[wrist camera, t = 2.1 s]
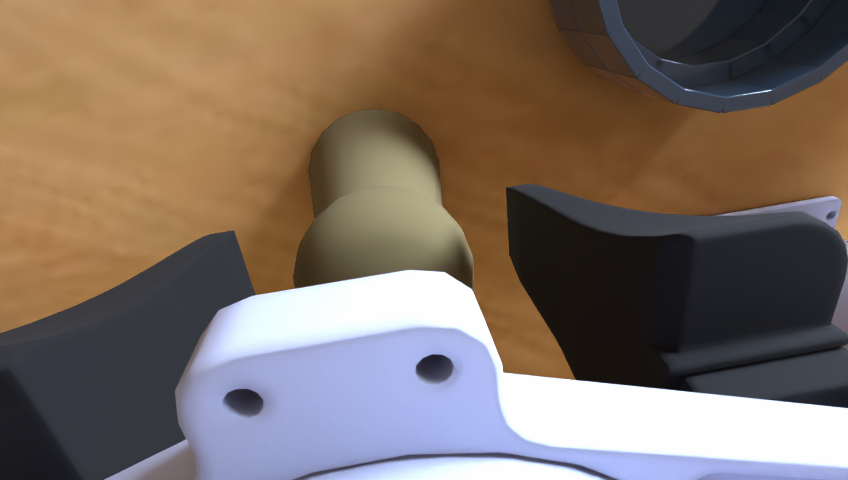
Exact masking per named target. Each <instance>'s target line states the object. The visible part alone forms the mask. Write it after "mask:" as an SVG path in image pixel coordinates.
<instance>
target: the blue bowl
mask: <svg viewBox="0 0 848 480" xmlns="http://www.w3.org/2000/svg"><path fill="white" fill-rule="evenodd" d="M550 3H551V6H552V10H553V13H554V16H555V19H556V23H557V26H558V27H559V30H560V32H561V33H562V35H563V36H564V37H565V39H566V40H567V42H568V43H569V44H570V46H571V47H572V49H573V50H574V51H575V53H576V54H577V55H578V57H579V58H580V60H581V61H582V62H583V63H584V64H585V65H586V66H587V67H589V68H590V69H592V70H594V71H595V72H597V73H598V74H600V75H601V76H603V77H604V78H606V79H607V80H609V81H610V82H612V83H614V84H615V85H617V86H620V87H623V88H626V89H629V90H632V91H635V92H638V93H641V94H645V95H647V96H651V97H654V98H657V99H660V100H663V101H666V102H669V103H672V104H675V105H680V106H685V107H690V108H695V109H700V110H705V111H710V112H716V113H727V112H733V111H739V110H746V109H752V108H758V107H765V106H770V105H773V104H775V103H777V102H780V101H782V100H784V99H786V98H788V97H790V96H792V95H794V94H796V93H799V92H801V91H803V90H805V89H807V88H809V87H811V86H813V85H816V84H818V83H820V82H821V81H823V80H824V79H825V78H827V77H828V76H829V75H830V74H832V73H833V72H834V71H835V70H837V69H838V68H839V67H840V66H842V65H843V64H844V63H845V62H847V61H848V0H550Z"/></svg>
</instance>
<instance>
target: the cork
mask: <svg viewBox="0 0 848 480" xmlns="http://www.w3.org/2000/svg"><path fill="white" fill-rule="evenodd" d="M308 172H309V180H310V187H311V195H312V203H313V211H314V218H315V219H314V220H313V221H312V223H311V225H310V226H309V228H308V230H307V231H306V233H305V235H304V237H303V238H302V240H301V242H300V244H299V248H298V251H297V257H296V262H295V268H294V274H293V281H294V286H295V289H297V288H303V287H309V286H315V285H321V284H327V283H333V282H339V281H345V280H351V279H357V278H363V277H369V276H375V275H381V274H387V273H393V272H399V271H405V270H419V271H434V272H445V273H447V274H448V275H450V276H452V277H453V278H455V279H456V280H458V281H459V282H461V283H463V284H464V285H466V286H467V287H469V288H470V289H472V291H473V286H474V265H473V256H472V253H471V251H470V248H469V245H468V243H467V240H466V238H465V235H464V233H463V231H462V229H461V227H460V226H459V225H458V224H457V222H456V221H455V220H454V219H453V218H452V217H451V216H450V214H449V213H448V212H447V211H446V210H445V209H444V208H443V207H442V199H441V185H440V171H439V159H438V157H437V154H436V151H435V149H434V146H433V144H432V141H431V140H430V139H429V137H428V136H427V135H426V134H425V133H424V131H423V130H422V129H421V128H420V127H419V125H417V124H416V123H414V122H412V121H411V120H409V119H408V118H406V117H404V116H403V115H401V114H398V113H394V112H390V111H386V110H382V109H372V110H359V111H356V112H353V113H351V114H348V115H346V116H344V117H341V118H339V119H337V120H336V121H335V122H334V123H333V124H332V125H330V126H329V127H328V128H327V129H326V130H325V131H324V132H323V133H322V134H321V136H320V137H319V139H318V141H317V143H316V145H315V146H314V148H313V150H312V153H311V159H310V165H309V170H308Z"/></svg>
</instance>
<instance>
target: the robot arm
mask: <svg viewBox="0 0 848 480" xmlns="http://www.w3.org/2000/svg"><path fill="white" fill-rule="evenodd" d="M506 196H507V217H508V239H509V255H510V258H511V260H512V263H513V265H514V268H515V270H516V273H517V275H518V277H519V280H520V282H521V283H522V285H523V287H524V289H525V290H526V292H527V293H528V295H529V297H530V298H531V300H532V302H533V303H534V305H535V306H536V308H537V310H538V311H539V313H540V314H541V316H542V318H543V319H544V321H545V322H546V324H547V326H548V327H549V329H550V330H551V332H552V334H553V335H554V337H555V338H556V340H557V342H558V344H559V346H560V348H561V349H562V351H563V353H564V356H565V358H566V360H567V362H568V364H569V366H570V369H571V371H572V373H573V375H574V377H575V379H576V380H570V379H560V378H550V377H540V376H531V375H521V374H511V373H504V372H503V368H502V362H501V360H500V357H499V355H498V352H497V350H496V347H495V345H494V342H493V340H492V337H491V335H490V332H489V330H488V327H487V324H486V322H485V319H484V317H483V314H482V312H481V310H480V307H479V305H478V303H477V300H476V298H475V296H474V293H473V291H472V289H470V288H469V287H467V286H466V285H464V284H463V283H461V282H459V281H458V280H456V279H455V278H453V277H452V276H450V275H448V274H447V273H445V272H434V271H419V270H405V271H399V272H393V273H387V274H381V275H375V276H369V277H363V278H357V279H351V280H345V281H339V282H333V283H327V284H321V285H315V286H309V287H303V288H297V289H291V290H285V291H279V292H273V293H267V294H261V295H255V292H254V289H253V286H252V283H251V280H250V277H249V274H248V271H247V268H246V265H245V262H244V259H243V256H242V253H241V250H240V247H239V244H238V241H237V238H236V235H235V232H234V231H227V232H221V233H215V234H210V235H207V236H204V237H202V238H200V239H198V240H196V241H194V242H192V243H190V244H189V245H187V246H185V247H183V248H182V249H180V250H178V251H177V252H175V253H174V254H172V255H170V256H169V257H167V258H165V259H164V260H162V261H160V262H159V263H157V264H155V265H154V266H152V267H150V268H148V269H147V270H145V271H143V272H141V273H140V274H138V275H136V276H134V277H133V278H131V279H129V280H127V281H125V282H124V283H122V284H120V285H118V286H116V287H114V288H112V289H110V290H108V291H106V292H104V293H102V294H100V295H98V296H96V297H94V298H92V299H89V300H87V301H85V302H83V303H81V304H78V305H76V306H74V307H71V308H69V309H66V310H64V311H61V312H58V313H56V314H53V315H51V316H48V317H45V318H43V319H40V320H38V321H35V322H33V323H30V324H27V325H24V326H21V327H18V328H15V329H12V330H9V331H6V332H3V333H0V480H848V241H846V240H844V239H842V237H841V235H840V233H839V232H838V231H837V230H835V226H836V222H837V219H838V215H839V212H840V208H841V203H842V202H841V200H840V199H839V198H837V197H834V196H827V197H821V198H815V199H809V200H803V201H797V202H791V203H785V204H780V205H774V206H768V207H762V208H756V209H750V210H744V211H738V212H732V213H726V214H721V215H715V216H693V215H677V214H662V213H653V212H645V211H639V210H632V209H626V208H621V207H616V206H611V205H607V204H603V203H599V202H595V201H591V200H587V199H584V198H580V197H577V196H574V195H570V194H567V193H564V192H561V191H557V190H554V189H551V188H547V187H544V186H540V185H536V184H524V185H517V186H511V187H506ZM827 214H828V215H827Z"/></svg>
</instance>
